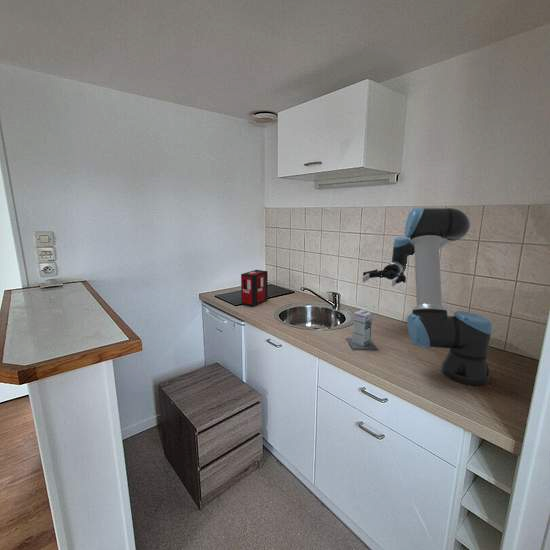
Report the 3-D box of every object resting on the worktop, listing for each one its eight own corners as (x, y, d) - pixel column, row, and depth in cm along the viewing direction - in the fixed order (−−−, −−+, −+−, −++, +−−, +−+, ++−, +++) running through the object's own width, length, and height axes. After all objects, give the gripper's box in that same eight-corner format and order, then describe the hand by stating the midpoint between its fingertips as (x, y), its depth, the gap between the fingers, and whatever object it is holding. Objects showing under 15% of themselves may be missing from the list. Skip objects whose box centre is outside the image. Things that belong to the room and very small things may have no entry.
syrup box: (363, 346, 135) (365, 315, 132) (351, 342, 139) (353, 312, 136) (370, 343, 138) (372, 312, 135) (359, 338, 143) (361, 309, 140)
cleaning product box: (256, 298, 208) (256, 269, 204) (267, 300, 204) (267, 271, 200) (241, 304, 195) (241, 274, 190) (253, 307, 190) (252, 275, 186)
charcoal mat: (377, 349, 134) (377, 348, 133) (352, 350, 133) (352, 348, 133) (369, 339, 144) (369, 337, 144) (346, 339, 144) (346, 337, 144)
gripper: (418, 281, 149) (405, 293, 133) (368, 275, 164) (351, 285, 149) (419, 266, 147) (406, 276, 131) (369, 261, 163) (352, 270, 147)
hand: (377, 281), depth 140 cm, fingers open, 13 cm apart
